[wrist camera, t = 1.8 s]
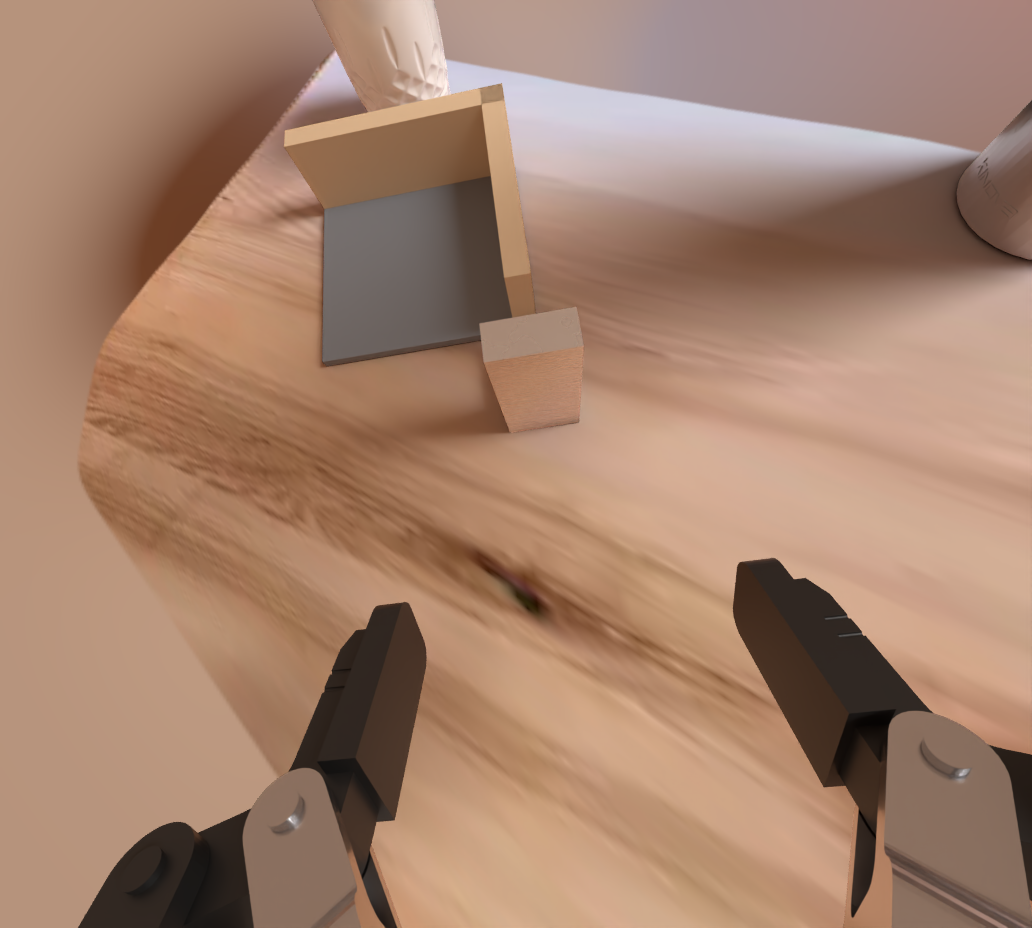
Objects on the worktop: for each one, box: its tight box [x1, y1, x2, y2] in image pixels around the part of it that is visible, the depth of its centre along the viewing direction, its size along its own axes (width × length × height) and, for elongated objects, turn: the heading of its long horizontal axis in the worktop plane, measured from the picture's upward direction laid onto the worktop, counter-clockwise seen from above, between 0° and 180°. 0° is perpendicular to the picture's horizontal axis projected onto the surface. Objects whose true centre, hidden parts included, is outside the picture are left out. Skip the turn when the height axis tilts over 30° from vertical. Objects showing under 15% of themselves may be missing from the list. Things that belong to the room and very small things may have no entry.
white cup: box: [312, 0, 451, 112], centre depth 31 cm, size 8×8×10 cm
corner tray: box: [284, 83, 536, 366], centre depth 29 cm, size 15×15×6 cm
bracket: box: [479, 307, 584, 433], centre depth 24 cm, size 4×6×9 cm
